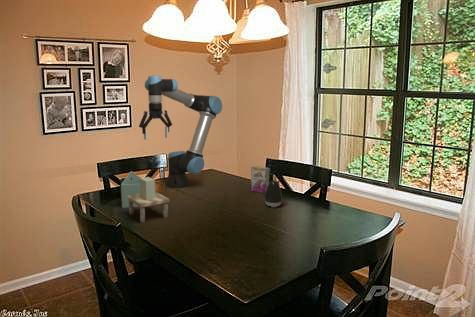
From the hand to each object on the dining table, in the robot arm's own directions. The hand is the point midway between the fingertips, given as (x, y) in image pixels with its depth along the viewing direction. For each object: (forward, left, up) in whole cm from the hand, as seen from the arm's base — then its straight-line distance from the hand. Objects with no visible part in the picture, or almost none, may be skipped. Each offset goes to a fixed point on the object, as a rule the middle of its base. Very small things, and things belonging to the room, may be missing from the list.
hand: (156, 138), depth 240 cm
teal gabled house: (+16, +6, -37) cm, 41 cm away
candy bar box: (-60, +25, -37) cm, 75 cm away
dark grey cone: (-48, +52, -37) cm, 80 cm away
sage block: (+18, +26, -27) cm, 41 cm away
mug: (+15, -7, -37) cm, 40 cm away
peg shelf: (+18, +26, -37) cm, 48 cm away
